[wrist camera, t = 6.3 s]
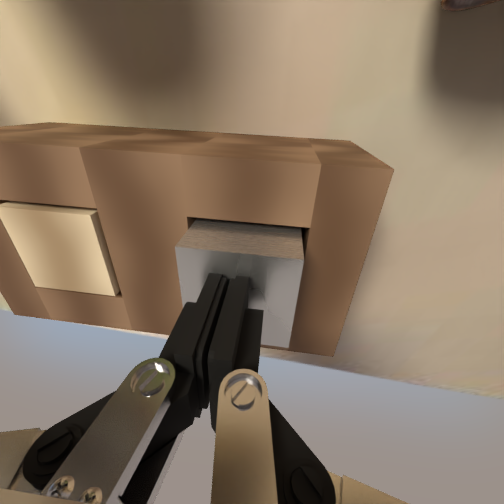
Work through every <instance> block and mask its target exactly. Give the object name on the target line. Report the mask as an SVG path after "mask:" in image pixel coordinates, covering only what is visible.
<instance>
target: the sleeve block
mask: <svg viewBox="0 0 504 504" xmlns="http://www.w3.org/2000/svg"><path fill="white" fill-rule="evenodd" d="M393 172H394V169H393V168H391V167H390V166H388V165H387V164H385V163H384V162H382V161H380V160H379V159H377V158H376V157H374V156H373V155H371V154H370V153H368V152H367V151H365V150H363V149H362V148H360V147H359V146H357V145H356V144H354V143H353V142H351V141H344V140H328V139H311V138H295V137H279V136H263V135H246V134H230V133H214V132H198V131H181V130H165V129H149V128H133V127H116V126H100V125H84V124H68V123H51V122H48V123H37V124H26V125H15V126H3V127H0V204H2V203H5V202H8V201H20V202H31V203H42V204H53V205H64V206H75V207H86V208H97V211H98V215H99V218H100V222H101V225H102V228H103V232H104V235H105V239H106V242H107V246H108V249H109V252H110V256H111V259H112V263H113V266H114V269H115V273H116V276H117V280H118V283H119V287H120V291H119V292H118V294H117V295H116V296H110V295H102V294H93V293H85V292H77V291H69V290H60V289H52V288H44V287H35V285H34V283H33V281H32V279H31V277H30V275H29V273H28V271H27V269H26V267H25V265H24V263H23V261H22V259H21V258H20V256H19V254H18V252H17V250H16V248H15V246H14V244H13V242H12V240H11V238H10V236H9V234H8V232H7V230H6V228H5V226H4V224H3V222H2V220H1V219H0V292H1V293H2V295H3V297H4V298H5V300H6V302H7V303H8V305H9V306H10V308H11V310H12V311H13V313H14V314H15V315H21V316H29V317H36V318H44V319H51V320H59V321H67V322H74V323H82V324H89V325H97V326H105V327H112V328H120V329H127V330H135V331H142V332H150V333H158V334H165V335H170V334H171V331H172V329H173V327H174V325H175V323H176V321H177V319H178V317H179V315H180V313H181V311H182V309H183V304H182V297H181V290H180V282H179V275H178V267H177V260H176V252H175V246H176V244H177V243H178V242H179V241H180V239H181V238H182V237H183V235H184V234H185V233H186V232H187V230H188V229H189V228H190V226H191V225H192V224H193V223H194V221H195V220H196V219H197V218H208V219H219V220H230V221H241V222H252V223H263V224H274V225H285V226H296V227H301V233H302V243H303V253H304V264H303V269H302V275H301V280H300V286H299V292H298V297H297V303H296V308H295V314H294V320H293V325H292V331H291V336H290V342H289V348H285V347H278V346H270V345H262V344H261V346H260V347H264V348H271V349H279V350H287V351H294V352H302V353H309V354H317V355H325V356H332V357H333V356H334V353H335V350H336V347H337V343H338V340H339V337H340V334H341V331H342V328H343V325H344V322H345V319H346V316H347V313H348V310H349V307H350V304H351V301H352V298H353V294H354V291H355V288H356V285H357V282H358V279H359V276H360V273H361V270H362V267H363V264H364V261H365V258H366V255H367V252H368V249H369V245H370V242H371V239H372V236H373V233H374V230H375V227H376V224H377V221H378V218H379V215H380V212H381V209H382V206H383V203H384V200H385V196H386V193H387V190H388V187H389V184H390V181H391V178H392V175H393Z"/></svg>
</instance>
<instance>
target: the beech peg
mask: <svg viewBox="0 0 504 504" xmlns="http://www.w3.org/2000/svg"><path fill="white" fill-rule="evenodd" d="M0 219H1V220H2V222H3V224H4V226H5V228H6V230H7V232H8V234H9V236H10V238H11V240H12V242H13V244H14V246H15V248H16V250H17V252H18V254H19V256H20V258H21V259H22V261H23V263H24V265H25V267H26V269H27V271H28V273H29V275H30V277H31V279H32V281H33V283H34V285H35V287H44V288H52V289H60V290H69V291H77V292H85V293H93V294H102V295H110V296H116V295H117V294H118V292H119V291H120V287H119V283H118V280H117V276H116V273H115V269H114V266H113V263H112V259H111V256H110V252H109V249H108V246H107V242H106V239H105V235H104V232H103V228H102V225H101V222H100V218H99V215H98V211H97V208H86V207H75V206H64V205H53V204H42V203H31V202H20V201H8V202H5V203H2V204H0Z"/></svg>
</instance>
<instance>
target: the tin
mask: <svg viewBox="0 0 504 504" xmlns="http://www.w3.org/2000/svg"><path fill="white" fill-rule="evenodd" d="M496 1H500V0H442V2H441V7H442V8H443V9H445V10H451V11H458V10H464V9H470V8H474V7H478V6H482V5H485V4H489V3H493V2H496Z"/></svg>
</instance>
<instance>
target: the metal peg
mask: <svg viewBox="0 0 504 504" xmlns="http://www.w3.org/2000/svg"><path fill="white" fill-rule="evenodd" d="M175 252H176V260H177V267H178V275H179V282H180V290H181V297H182V304H183V307H184V305H185V303H186V302H197V299H198V297H199V295H200V292H201V290H202V288H203V286H204V283H205V281H206V279H207V276H208V274H209V273H219V274H223V277H224V278H227V280H228V286H229V283H230V279H231V278H234V279H235V278H236V275H238V276H248V277H249V297H248V308H250V309H259V310H264V314H263V325H262V335H261V344H262V345H270V346H278V347H285V348H289V342H290V336H291V331H292V325H293V320H294V314H295V308H296V303H297V297H298V292H299V286H300V280H301V275H302V269H303V264H304V253H303V243H302V233H301V227H296V226H285V225H274V224H263V223H252V222H241V221H230V220H219V219H208V218H197V219H196V220H195V221H194V223H193V224H192V225H191V226H190V228H189V229H188V230H187V232H186V233H185V234H184V235H183V237H182V238H181V239H180V241H179V242H178V243H177V244H176V246H175Z"/></svg>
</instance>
